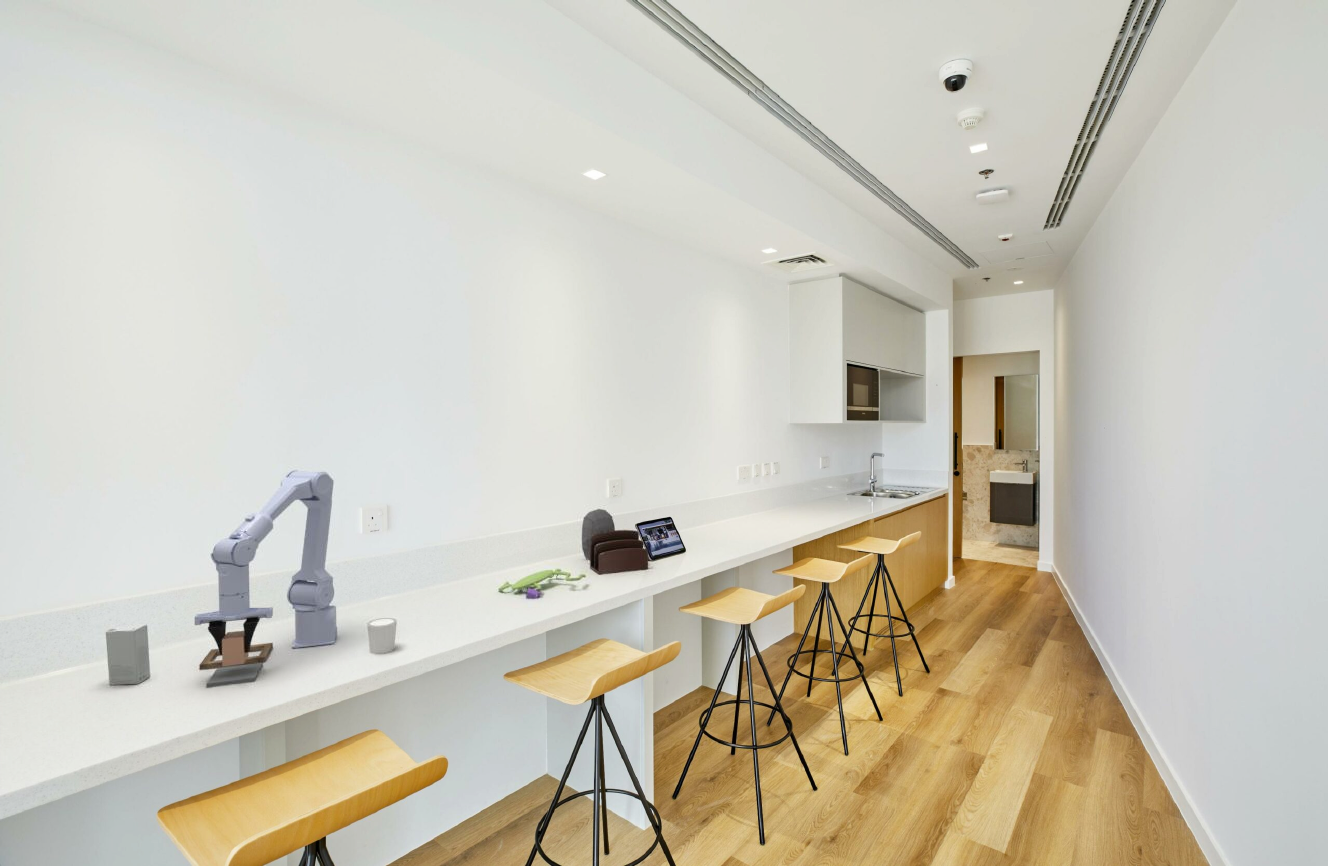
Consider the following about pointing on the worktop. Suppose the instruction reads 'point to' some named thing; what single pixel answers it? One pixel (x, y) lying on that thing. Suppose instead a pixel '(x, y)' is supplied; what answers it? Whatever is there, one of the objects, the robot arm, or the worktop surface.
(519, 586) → the figurine
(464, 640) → the worktop surface
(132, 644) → the skincare box
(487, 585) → the worktop surface
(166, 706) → the worktop surface
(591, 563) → the letter holder
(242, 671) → the slate mat
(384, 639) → the light grey cup
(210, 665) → the walnut frame
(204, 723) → the worktop surface
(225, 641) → the terracotta block
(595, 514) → the small grey backpack
